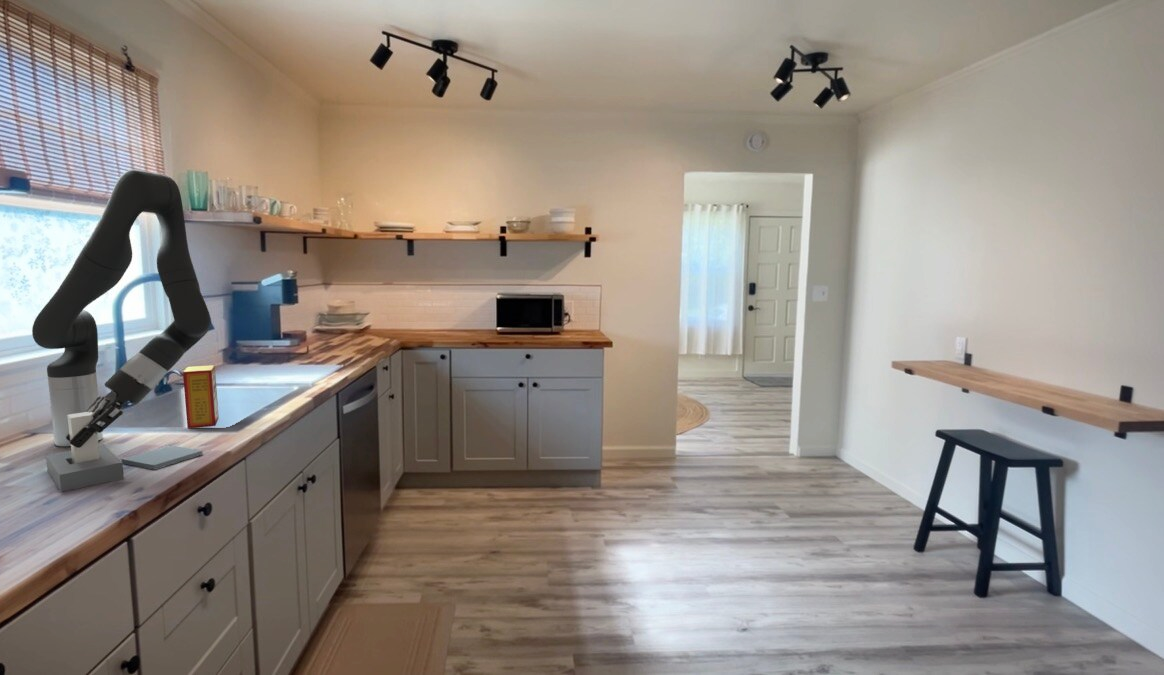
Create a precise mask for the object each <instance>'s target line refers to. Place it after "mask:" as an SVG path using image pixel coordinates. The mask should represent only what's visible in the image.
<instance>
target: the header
mask: <svg viewBox="0 0 1164 675" xmlns="http://www.w3.org/2000/svg"><path fill="white" fill-rule="evenodd" d="M99 455H100V459H95V460H90V461H85V462H80V463H75V464H73V462H72V453H71V450H65V451H61V452H55V453H51V454H46V455H45V458H46V460H45V461H46V467H47V468H46V470H47V472H48V474H49V475H50V477H51V478H52V480H53V482H54V483H55V485H56V486H57V488H58V489H59V491H60V493H62V492H68V491H72V490H76V489H81V488H87V487H91V486H95V485H99V484H105V483H110V482H115V481H118V480H123V479H125V475H124V473H125V472H124V464H123V462H122V460H121V458H119V457H117V455H116V454H115V453H114V452H112V451H111V450H110V449H109V448H108V447H107V445H105V444H100V445H99Z"/></svg>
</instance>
